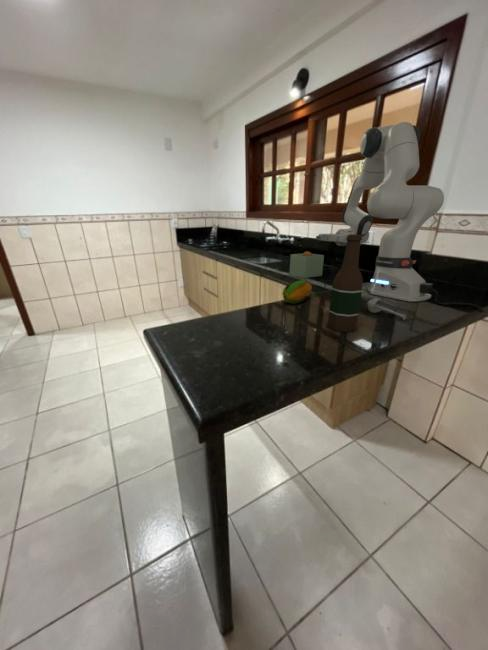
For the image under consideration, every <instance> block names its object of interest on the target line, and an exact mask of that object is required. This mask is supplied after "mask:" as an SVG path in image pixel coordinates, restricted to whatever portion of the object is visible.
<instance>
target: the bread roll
mask: <svg viewBox="0 0 488 650" xmlns="http://www.w3.org/2000/svg"><path fill="white" fill-rule="evenodd" d="M302 254H303V255H302V256H305V257H308V256H312V254H313V253H312V252H310V251H309V250H308V251H304V252H303V253H302Z"/></svg>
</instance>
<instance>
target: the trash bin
mask: <svg viewBox="0 0 488 650" xmlns="http://www.w3.org/2000/svg"><path fill="white" fill-rule="evenodd" d="M311 254H312V256H308V257H305V256H302V255H303V253H293V254H291V253H290V258H289V275H291V276H295V277H299V278H301V279H307V278H308V279H309V278H316V277H322V276H323V271H324V259H325V255H324V254H318V253H317V254H316V253H311Z"/></svg>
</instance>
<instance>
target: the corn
mask: <svg viewBox="0 0 488 650" xmlns="http://www.w3.org/2000/svg"><path fill="white" fill-rule="evenodd" d="M307 281H308V280H307V279H300V280H297V281H294V282H292V283H288V284H287V285H285V286H284V288H283V289H282V290H283V291H282V293H281V294H282V297H283V298H282V299H283V301H284V302H285V303H287V304H291V305H297V304H299V303H302V302H303V301H305V300H306V299H308V298H309V296H310V294H311V292H312V289H313V286H312V284H311V283H309V282H307Z"/></svg>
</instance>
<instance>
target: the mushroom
mask: <svg viewBox="0 0 488 650" xmlns="http://www.w3.org/2000/svg"><path fill="white" fill-rule="evenodd" d="M366 305H367V310H368V312H370V313H373V314H377V313H380V312H381V311H385V312H387V313H390V314H392V315H395V316H398V317H400V318H401V319H402V320H403V321H404V320H406V318H407V316H408V314H405V313H404V314H402V313H400V312H397V311H394V310H393V309H390V308H387V307H386V304H385V302H384V301H383V300H382V299H381V298H378V297H374V298H372V299H370V300H368V301H367V303H366Z"/></svg>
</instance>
